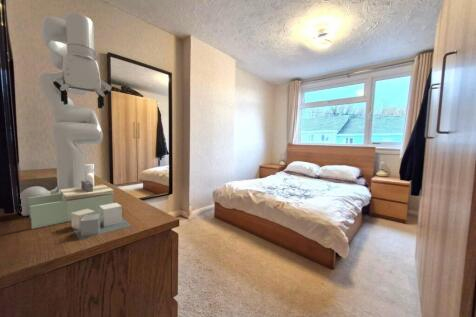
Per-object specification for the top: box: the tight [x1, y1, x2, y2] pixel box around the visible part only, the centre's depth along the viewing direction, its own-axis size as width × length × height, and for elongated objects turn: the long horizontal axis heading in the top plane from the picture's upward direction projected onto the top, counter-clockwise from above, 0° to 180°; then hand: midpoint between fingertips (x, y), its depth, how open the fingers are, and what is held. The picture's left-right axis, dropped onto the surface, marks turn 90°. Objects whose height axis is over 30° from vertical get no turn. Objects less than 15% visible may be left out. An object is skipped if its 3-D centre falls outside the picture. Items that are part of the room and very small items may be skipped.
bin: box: [29, 193, 115, 230], centre depth 66 cm, size 12×20×6 cm, turn 137°
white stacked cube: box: [99, 202, 123, 227], centre depth 60 cm, size 4×4×5 cm
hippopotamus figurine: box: [19, 185, 60, 217], centre depth 69 cm, size 8×12×9 cm, turn 139°
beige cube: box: [71, 209, 95, 230], centre depth 57 cm, size 4×4×4 cm
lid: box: [60, 179, 115, 200], centre depth 68 cm, size 12×12×4 cm
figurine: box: [84, 163, 95, 185], centre depth 79 cm, size 7×9×15 cm
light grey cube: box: [80, 214, 101, 237], centre depth 54 cm, size 4×4×4 cm
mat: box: [70, 217, 133, 241], centre depth 58 cm, size 12×12×1 cm
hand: (83, 106), depth 71 cm, fingers open, 9 cm apart
